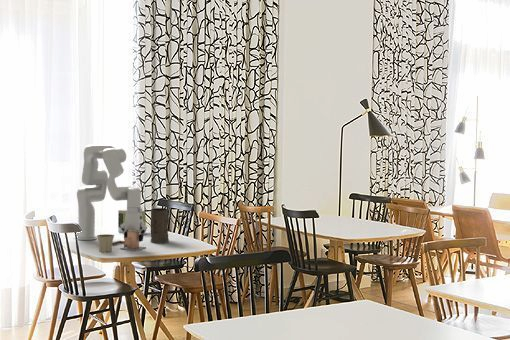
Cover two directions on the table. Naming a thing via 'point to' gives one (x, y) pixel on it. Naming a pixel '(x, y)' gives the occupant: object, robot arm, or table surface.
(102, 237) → the flower pot
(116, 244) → the cradle
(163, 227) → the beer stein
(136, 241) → the jug
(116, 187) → the robot arm
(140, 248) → the coaster
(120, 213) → the tea box
